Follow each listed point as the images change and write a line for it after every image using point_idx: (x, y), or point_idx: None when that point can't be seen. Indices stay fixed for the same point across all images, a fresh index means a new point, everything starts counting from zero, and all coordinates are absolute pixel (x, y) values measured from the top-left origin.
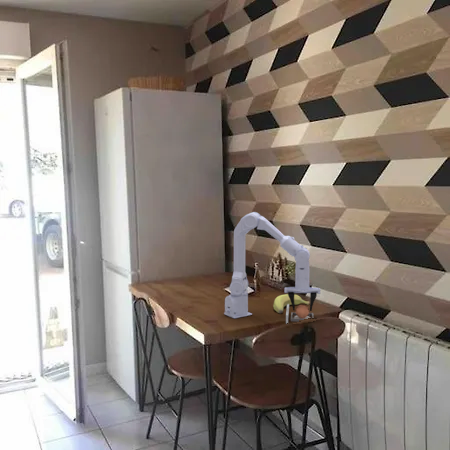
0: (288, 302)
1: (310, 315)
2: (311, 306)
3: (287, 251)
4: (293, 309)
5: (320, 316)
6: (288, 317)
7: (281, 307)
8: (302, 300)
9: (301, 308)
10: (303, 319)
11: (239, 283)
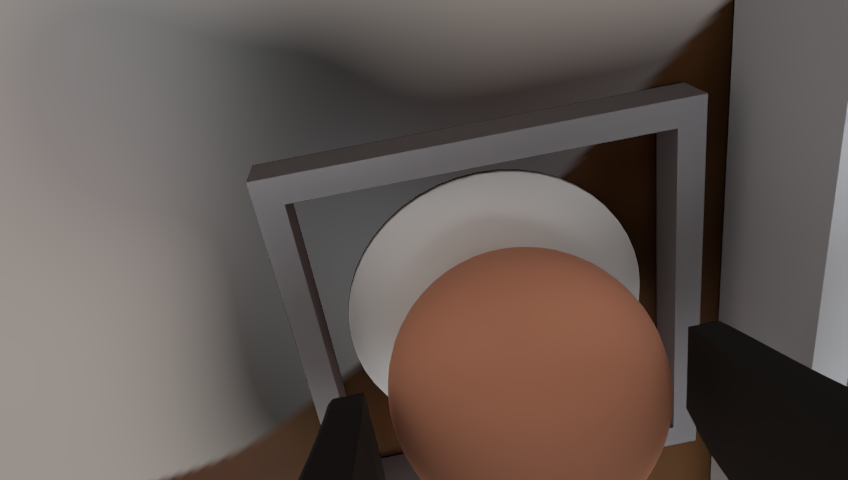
0: None
1: (386, 460)
2: (322, 464)
3: None
4: (726, 331)
5: (227, 473)
6: (728, 248)
7: None
8: None
9: (560, 350)
10: (453, 141)
11: None
